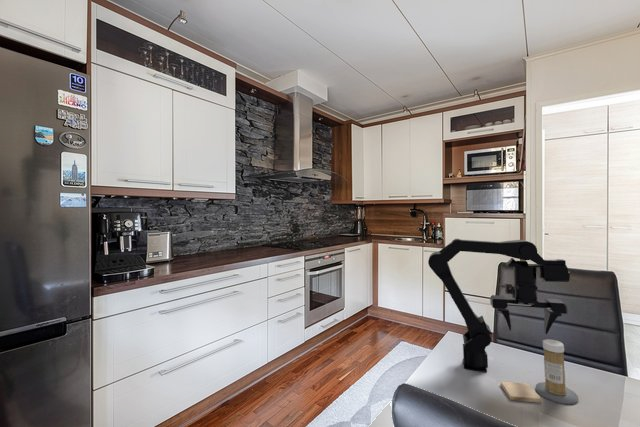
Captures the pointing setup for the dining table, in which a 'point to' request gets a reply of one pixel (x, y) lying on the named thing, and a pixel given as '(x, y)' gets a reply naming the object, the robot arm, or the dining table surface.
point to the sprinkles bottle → (554, 367)
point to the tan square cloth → (520, 392)
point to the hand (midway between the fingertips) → (527, 331)
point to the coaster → (565, 399)
